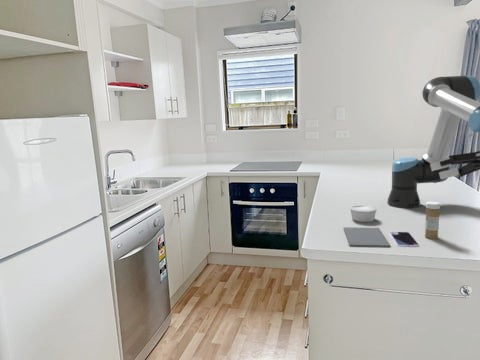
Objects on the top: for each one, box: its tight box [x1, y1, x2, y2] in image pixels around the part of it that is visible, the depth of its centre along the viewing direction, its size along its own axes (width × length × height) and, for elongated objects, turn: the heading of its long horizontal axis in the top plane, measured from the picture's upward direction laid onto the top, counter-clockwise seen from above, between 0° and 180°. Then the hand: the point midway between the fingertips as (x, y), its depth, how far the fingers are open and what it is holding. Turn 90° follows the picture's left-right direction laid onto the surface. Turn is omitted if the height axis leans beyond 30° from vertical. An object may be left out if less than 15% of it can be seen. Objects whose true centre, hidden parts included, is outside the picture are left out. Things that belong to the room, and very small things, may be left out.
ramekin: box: [349, 204, 377, 223], centre depth 159 cm, size 11×11×5 cm
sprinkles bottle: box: [424, 201, 441, 240], centre depth 132 cm, size 5×5×14 cm
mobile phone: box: [388, 231, 420, 248], centre depth 133 cm, size 8×1×15 cm
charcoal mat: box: [343, 226, 392, 248], centre depth 137 cm, size 20×14×1 cm
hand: (435, 171), depth 135 cm, fingers open, 13 cm apart
